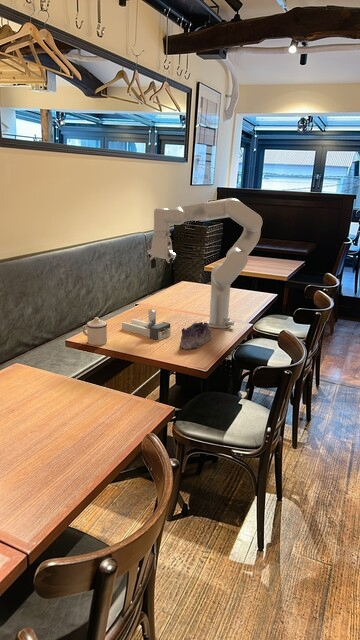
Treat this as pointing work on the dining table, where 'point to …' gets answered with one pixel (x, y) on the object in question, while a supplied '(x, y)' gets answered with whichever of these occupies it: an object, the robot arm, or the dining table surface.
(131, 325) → the track
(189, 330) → the geode
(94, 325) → the teacup with lid
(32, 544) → the dining table surface
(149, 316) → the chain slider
